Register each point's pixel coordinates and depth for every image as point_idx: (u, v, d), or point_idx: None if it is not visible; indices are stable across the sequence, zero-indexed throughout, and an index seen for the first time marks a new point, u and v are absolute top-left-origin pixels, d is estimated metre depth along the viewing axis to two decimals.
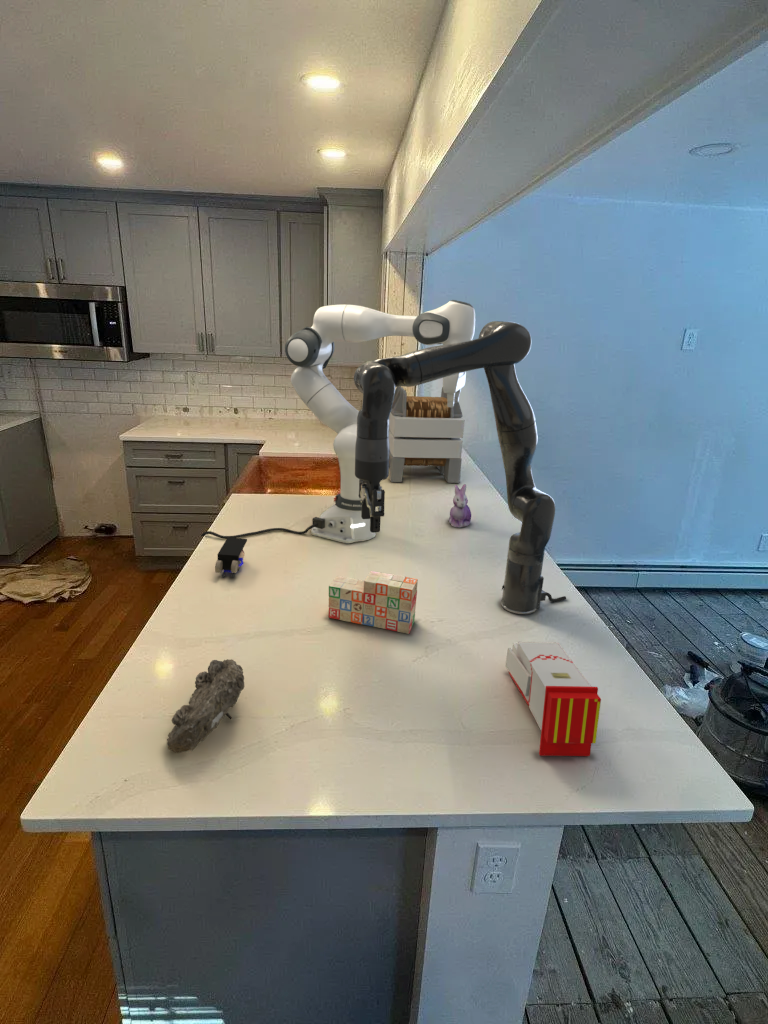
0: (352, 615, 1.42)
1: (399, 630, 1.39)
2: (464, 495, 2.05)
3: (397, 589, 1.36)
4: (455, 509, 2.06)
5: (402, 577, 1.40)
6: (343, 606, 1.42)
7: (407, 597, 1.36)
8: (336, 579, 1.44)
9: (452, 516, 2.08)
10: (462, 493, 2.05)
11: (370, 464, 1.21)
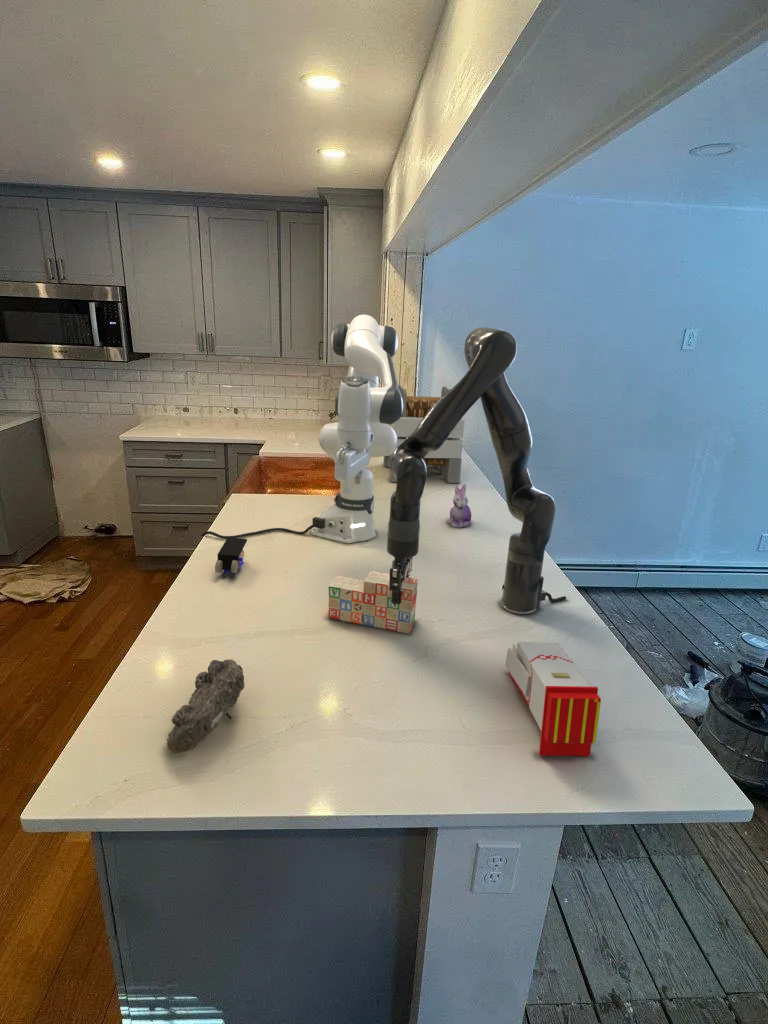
0: (352, 615, 1.42)
1: (399, 630, 1.39)
2: (464, 495, 2.05)
3: None
4: (455, 509, 2.06)
5: None
6: (343, 606, 1.42)
7: (407, 597, 1.36)
8: (336, 579, 1.44)
9: (452, 516, 2.08)
10: (462, 493, 2.05)
11: (394, 542, 1.31)
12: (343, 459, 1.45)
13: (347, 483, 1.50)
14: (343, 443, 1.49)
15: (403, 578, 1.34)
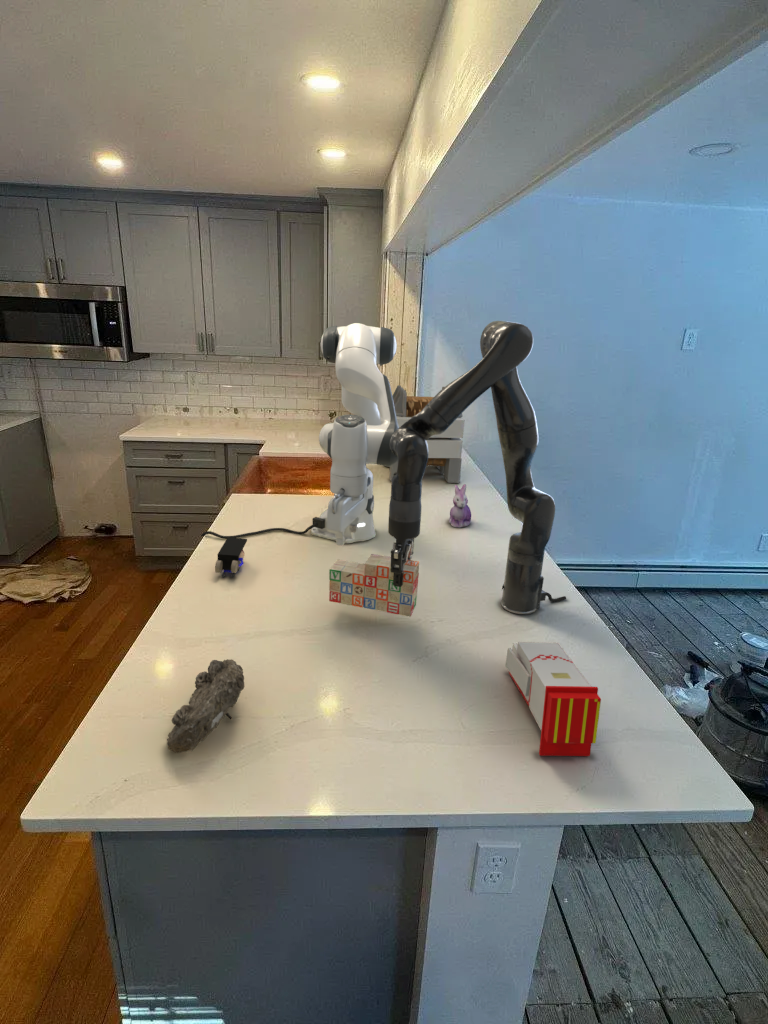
0: (353, 598, 1.40)
1: (401, 613, 1.38)
2: (464, 495, 2.05)
3: None
4: (455, 509, 2.06)
5: None
6: (344, 589, 1.40)
7: (409, 579, 1.34)
8: (337, 562, 1.43)
9: (452, 516, 2.08)
10: (462, 493, 2.05)
11: (395, 523, 1.30)
12: (336, 508, 1.28)
13: (341, 534, 1.34)
14: (337, 489, 1.33)
15: (404, 560, 1.32)
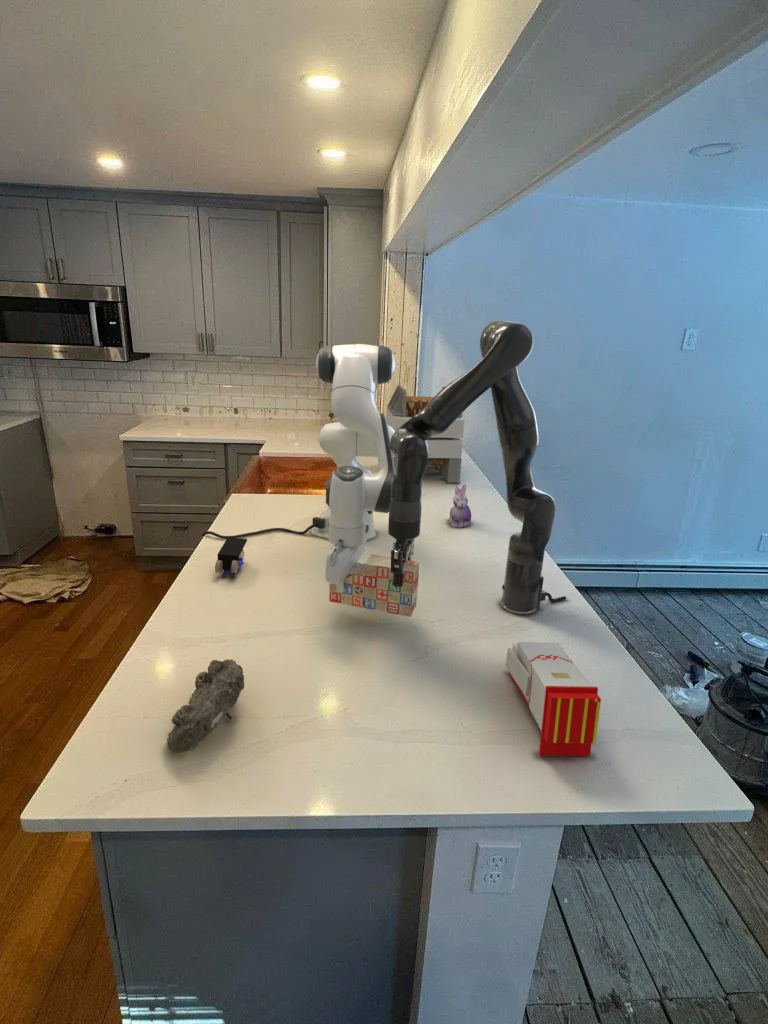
0: (353, 599, 1.40)
1: (401, 613, 1.37)
2: (464, 495, 2.05)
3: None
4: (455, 509, 2.06)
5: None
6: None
7: (409, 579, 1.34)
8: None
9: (452, 516, 2.08)
10: (462, 493, 2.05)
11: (395, 523, 1.30)
12: (335, 561, 1.30)
13: (341, 582, 1.37)
14: (335, 540, 1.35)
15: (405, 560, 1.32)
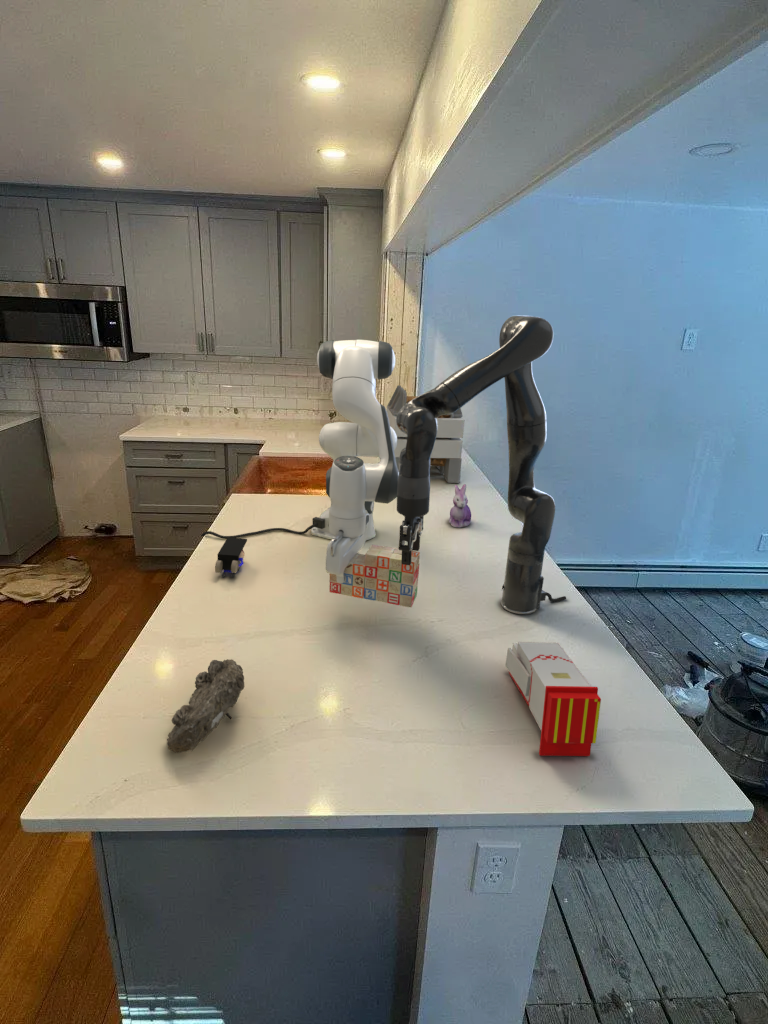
0: (353, 589, 1.39)
1: (401, 604, 1.37)
2: (464, 495, 2.05)
3: (399, 562, 1.33)
4: (455, 509, 2.06)
5: None
6: None
7: (410, 570, 1.33)
8: None
9: (452, 516, 2.08)
10: (462, 493, 2.05)
11: (404, 500, 1.27)
12: (335, 551, 1.30)
13: (341, 572, 1.36)
14: (335, 530, 1.34)
15: (413, 537, 1.30)
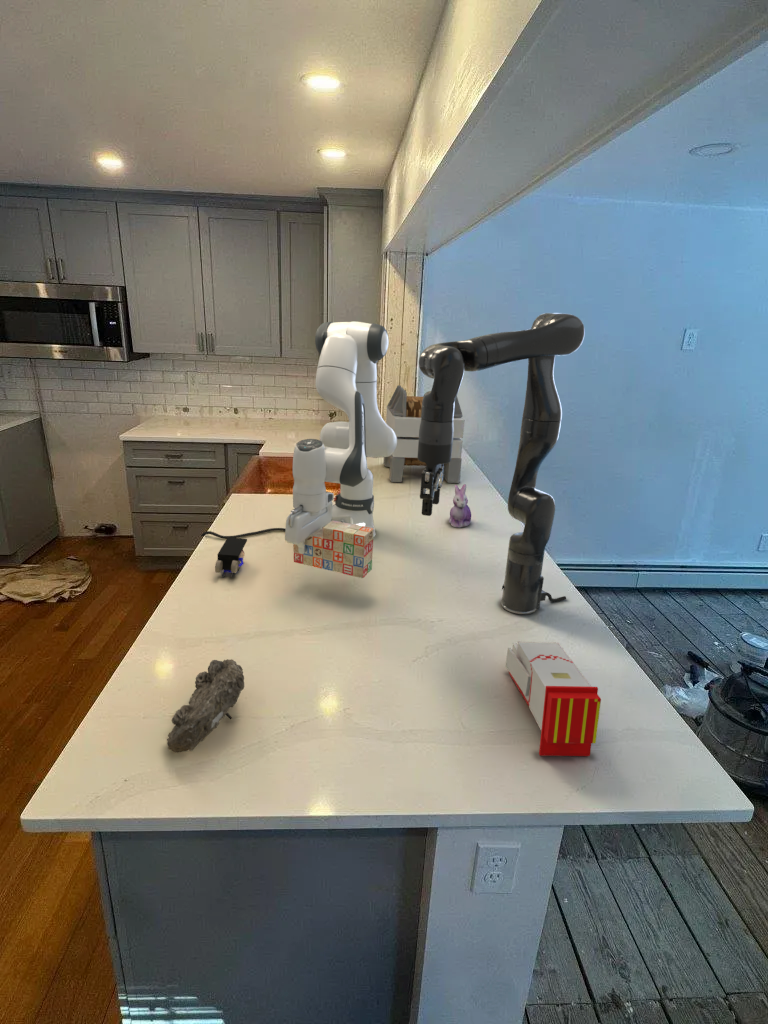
0: (314, 560, 1.54)
1: (354, 574, 1.50)
2: (464, 495, 2.05)
3: (351, 536, 1.47)
4: (455, 509, 2.06)
5: (359, 526, 1.51)
6: None
7: (360, 543, 1.47)
8: None
9: (452, 516, 2.08)
10: (462, 493, 2.05)
11: (426, 446, 1.22)
12: (293, 523, 1.45)
13: (301, 543, 1.51)
14: (297, 505, 1.50)
15: (435, 486, 1.24)
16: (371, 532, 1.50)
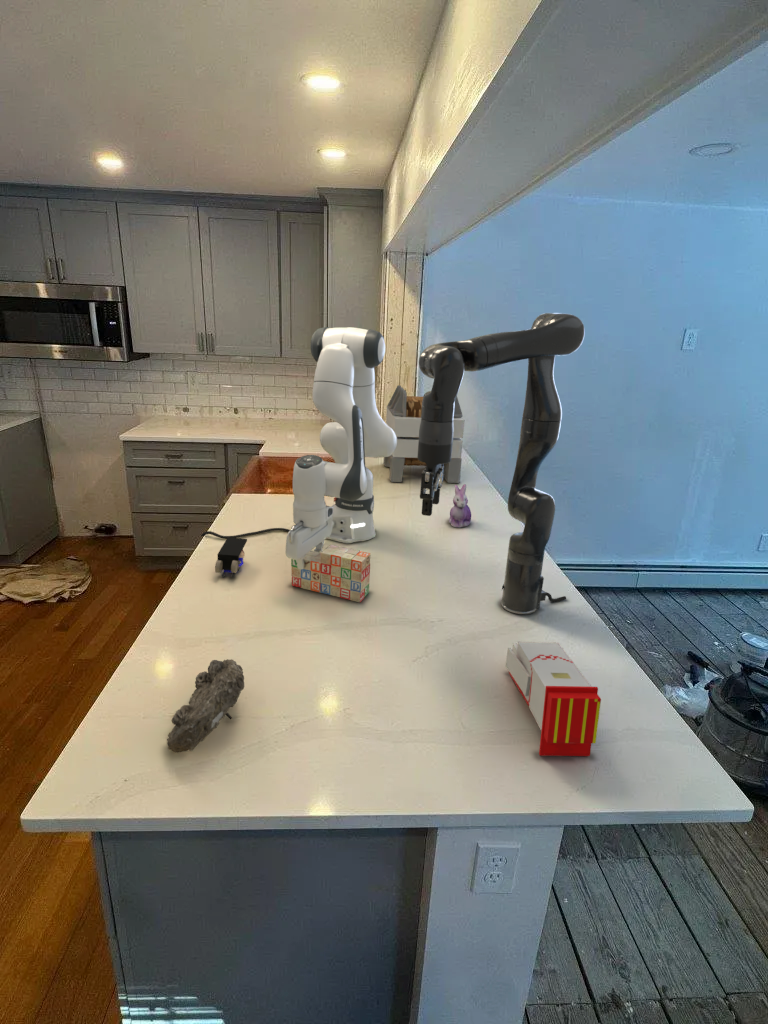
0: (311, 584, 1.57)
1: (351, 599, 1.53)
2: (464, 495, 2.05)
3: (349, 561, 1.50)
4: (455, 509, 2.06)
5: (356, 551, 1.54)
6: (303, 575, 1.57)
7: (358, 568, 1.49)
8: None
9: (452, 516, 2.08)
10: (462, 493, 2.05)
11: (426, 446, 1.22)
12: (293, 539, 1.47)
13: (300, 560, 1.52)
14: (297, 521, 1.51)
15: (435, 486, 1.24)
16: (368, 557, 1.53)
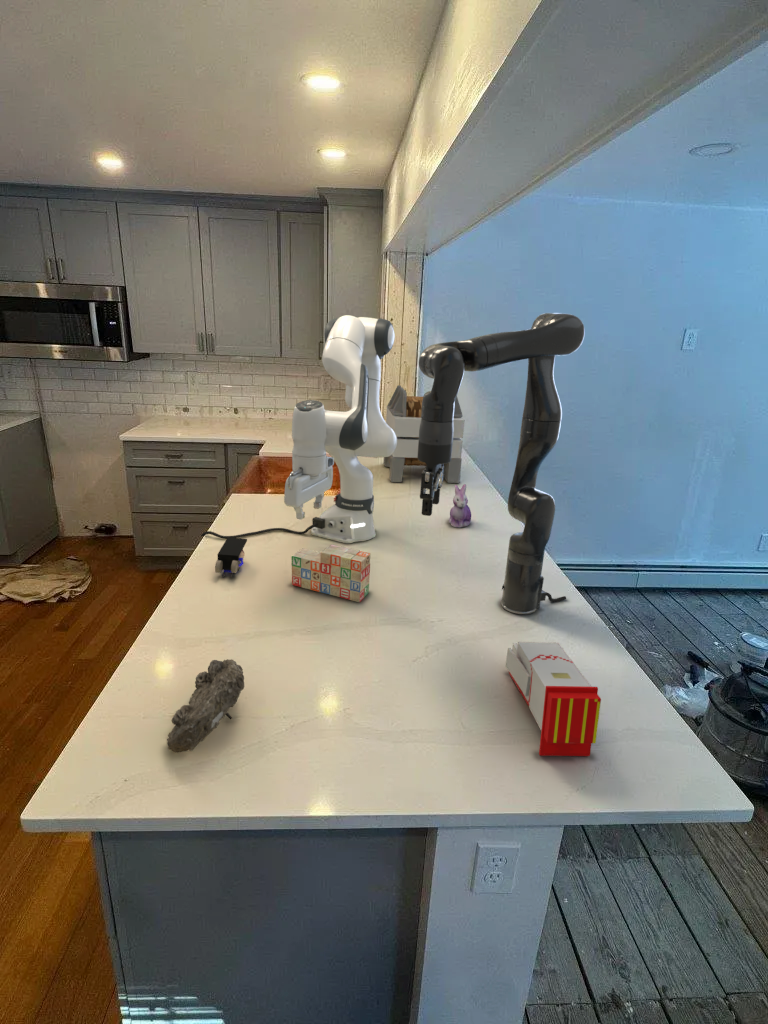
0: (311, 583, 1.57)
1: (351, 598, 1.53)
2: (464, 495, 2.05)
3: (348, 561, 1.50)
4: (455, 509, 2.06)
5: (356, 551, 1.54)
6: (303, 574, 1.57)
7: (357, 568, 1.49)
8: (300, 550, 1.60)
9: (452, 516, 2.08)
10: (462, 493, 2.05)
11: (426, 446, 1.22)
12: (292, 485, 1.42)
13: (299, 509, 1.47)
14: (296, 468, 1.46)
15: (435, 486, 1.24)
16: (368, 557, 1.53)
